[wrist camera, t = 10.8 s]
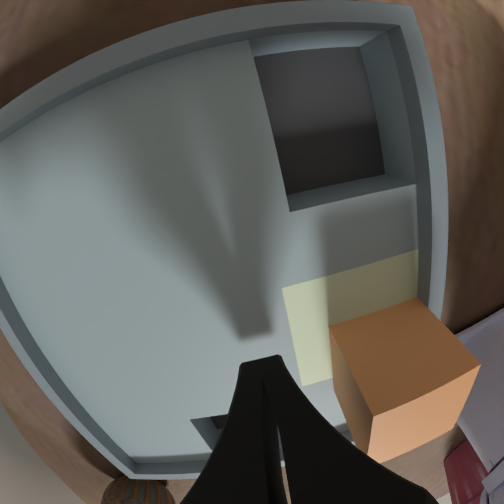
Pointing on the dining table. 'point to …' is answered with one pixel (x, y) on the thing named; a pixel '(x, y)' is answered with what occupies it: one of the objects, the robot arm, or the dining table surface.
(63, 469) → the dining table surface
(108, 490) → the vase
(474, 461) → the plant pot
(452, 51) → the dining table surface
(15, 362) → the dining table surface
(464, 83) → the dining table surface
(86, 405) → the box
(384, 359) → the block
